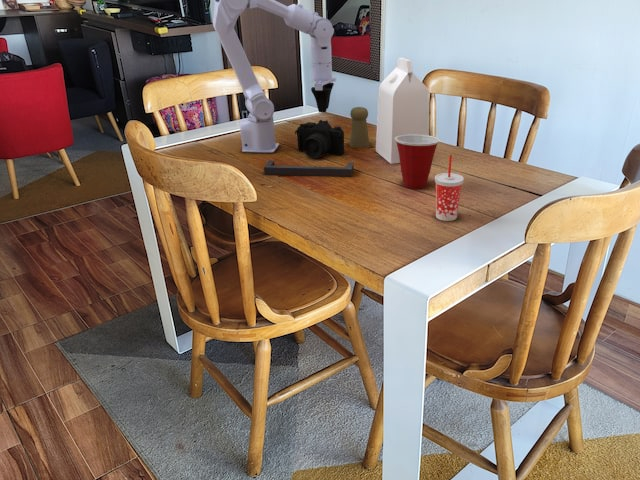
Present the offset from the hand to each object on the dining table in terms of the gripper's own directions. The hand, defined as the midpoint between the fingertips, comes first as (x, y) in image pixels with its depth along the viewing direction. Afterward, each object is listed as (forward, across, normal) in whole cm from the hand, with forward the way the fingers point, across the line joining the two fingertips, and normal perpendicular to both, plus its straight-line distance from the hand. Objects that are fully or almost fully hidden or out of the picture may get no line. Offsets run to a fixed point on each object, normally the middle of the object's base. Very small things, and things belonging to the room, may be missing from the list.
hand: (323, 110), depth 171 cm
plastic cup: (+10, -35, -28) cm, 46 cm away
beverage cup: (+10, -54, -35) cm, 65 cm away
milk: (+10, -12, -24) cm, 28 cm away
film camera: (+10, -13, 0) cm, 16 cm away
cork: (+10, -3, -11) cm, 15 cm away
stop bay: (+9, -28, 0) cm, 29 cm away
